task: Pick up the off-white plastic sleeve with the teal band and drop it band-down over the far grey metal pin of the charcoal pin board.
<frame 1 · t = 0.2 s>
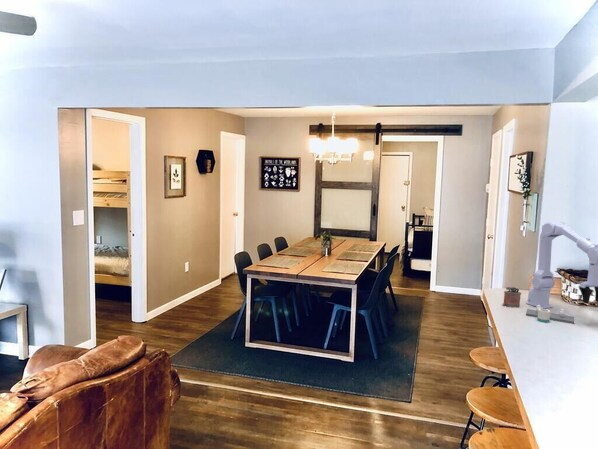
hand: (591, 302, 214), 10 cm above the table, tool pointing down, fingers open, 7 cm apart
pin board: (549, 317, 222), on the table
lighter: (511, 306, 238), on the table
sleeve: (543, 320, 216), on the table
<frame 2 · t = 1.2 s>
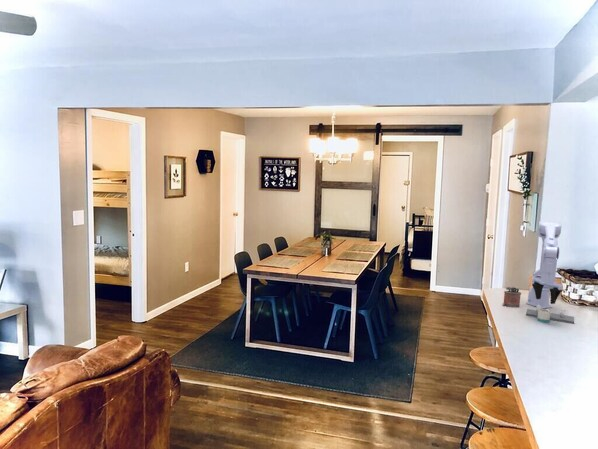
hand: (545, 301, 215), 9 cm above the table, tool pointing down, fingers open, 7 cm apart
nothing on the table moved.
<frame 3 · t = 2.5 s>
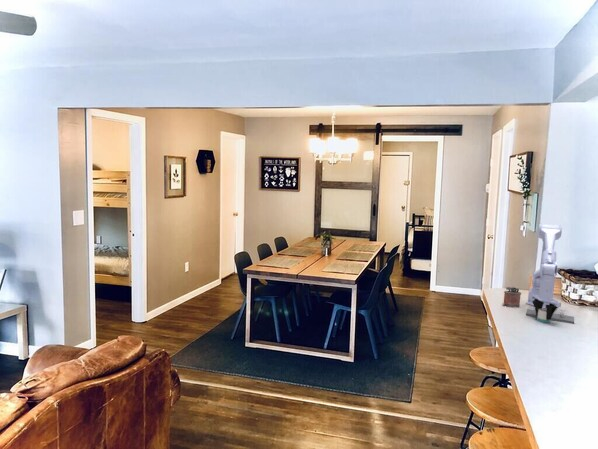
hand: (543, 317, 216), 1 cm above the table, tool pointing down, fingers closed on sleeve, 5 cm apart
sleeve: (543, 320, 216), on the table, touching gripper
everything else where it was.
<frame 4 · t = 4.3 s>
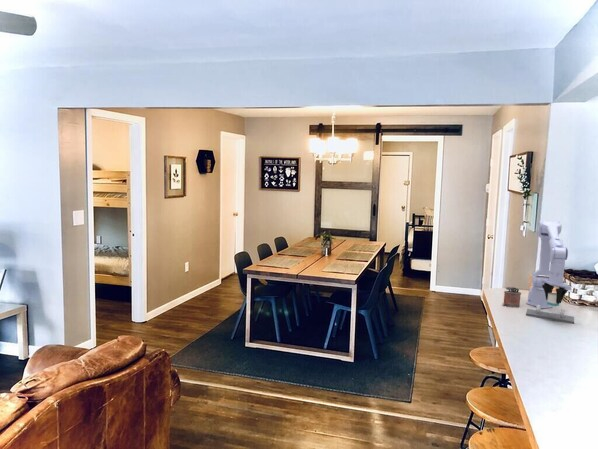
hand: (553, 301, 217), 9 cm above the table, tool pointing down, fingers closed on sleeve, 5 cm apart
sleeve: (552, 304, 217), point 7 cm above the table, touching gripper
everything else where it was.
when the fingers open (5 cm above the table, at t = 6.2 s): sleeve drops 3 cm, resting on pin board.
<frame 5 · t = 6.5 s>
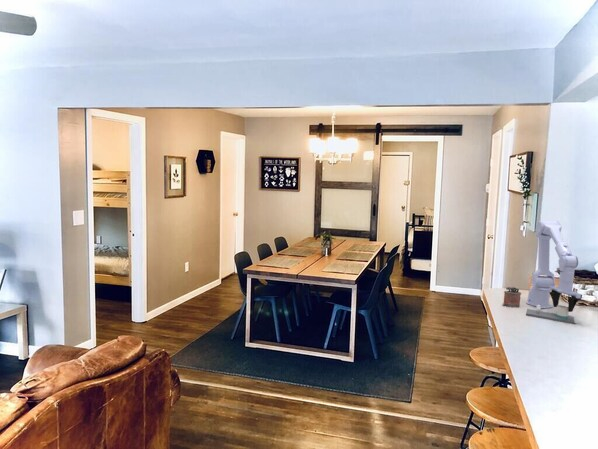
hand: (562, 309, 219), 5 cm above the table, tool pointing down, fingers open, 7 cm apart
sleeve: (561, 317, 220), point 1 cm above the table, touching pin board
everything else where it was.
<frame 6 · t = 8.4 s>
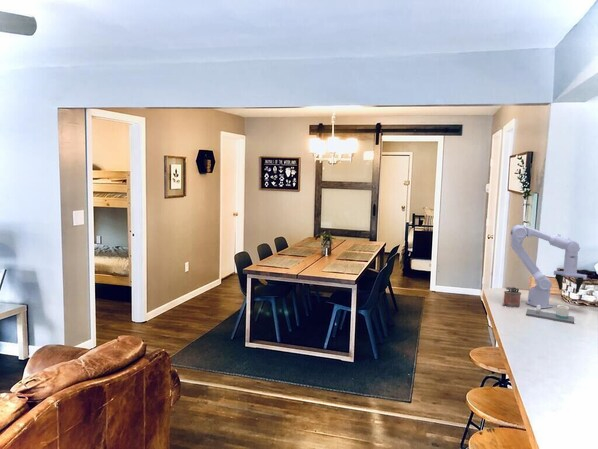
hand: (568, 291, 236), 9 cm above the table, tool pointing down, fingers open, 7 cm apart
nothing on the table moved.
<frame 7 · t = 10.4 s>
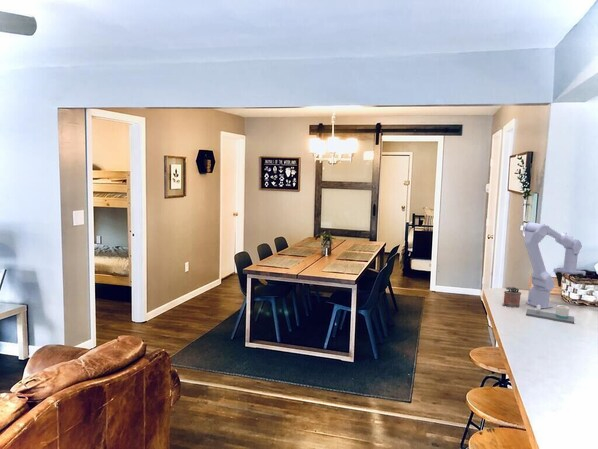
hand: (567, 287, 244), 9 cm above the table, tool pointing down, fingers open, 7 cm apart
nothing on the table moved.
at the end: sleeve 0.1 cm from the target spot on the pin board, point 1.0 cm above the pin board's base; sleeve tilted 0°; the gripper is holding nothing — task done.
